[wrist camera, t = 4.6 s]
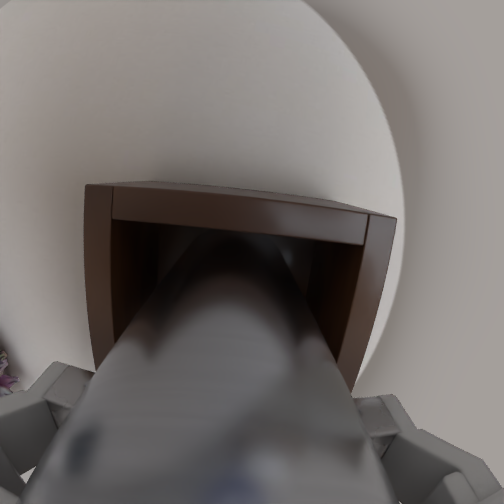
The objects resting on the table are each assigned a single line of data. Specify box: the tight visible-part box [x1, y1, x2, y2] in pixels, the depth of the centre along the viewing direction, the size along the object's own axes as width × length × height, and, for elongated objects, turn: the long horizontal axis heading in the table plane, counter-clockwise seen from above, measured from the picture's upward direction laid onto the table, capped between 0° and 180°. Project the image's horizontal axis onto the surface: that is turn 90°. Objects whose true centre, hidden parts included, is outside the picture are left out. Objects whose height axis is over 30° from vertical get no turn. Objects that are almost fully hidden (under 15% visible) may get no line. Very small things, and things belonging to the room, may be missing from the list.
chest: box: [84, 181, 397, 394], centre depth 15 cm, size 14×11×8 cm
